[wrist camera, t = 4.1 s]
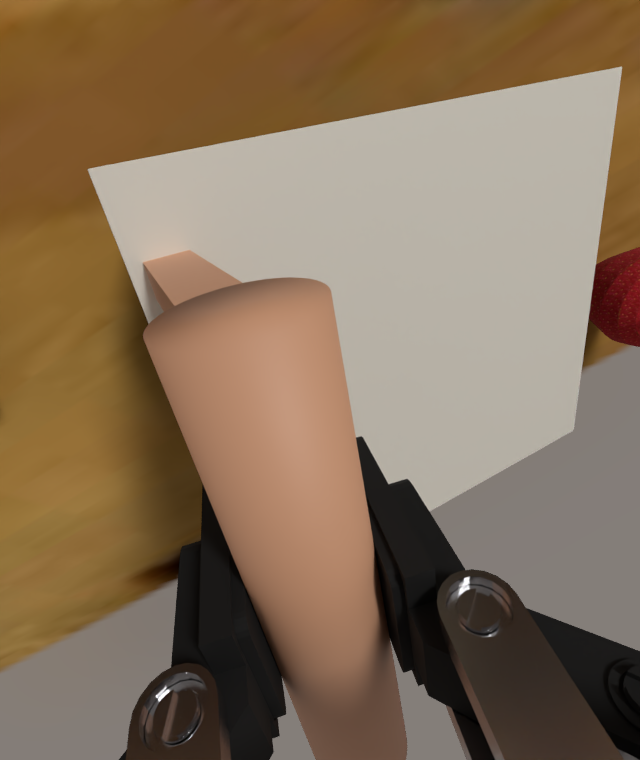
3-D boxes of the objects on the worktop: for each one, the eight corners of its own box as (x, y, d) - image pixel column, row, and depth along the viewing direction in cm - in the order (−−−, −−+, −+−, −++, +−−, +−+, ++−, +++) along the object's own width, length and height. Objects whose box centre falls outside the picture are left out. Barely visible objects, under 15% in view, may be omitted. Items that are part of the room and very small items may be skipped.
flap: (605, 70, 16) (1002, -19, 9) (563, 425, 23) (759, 523, 17) (78, 171, 10) (59, 141, 3) (251, 597, 18) (354, 855, 11)
